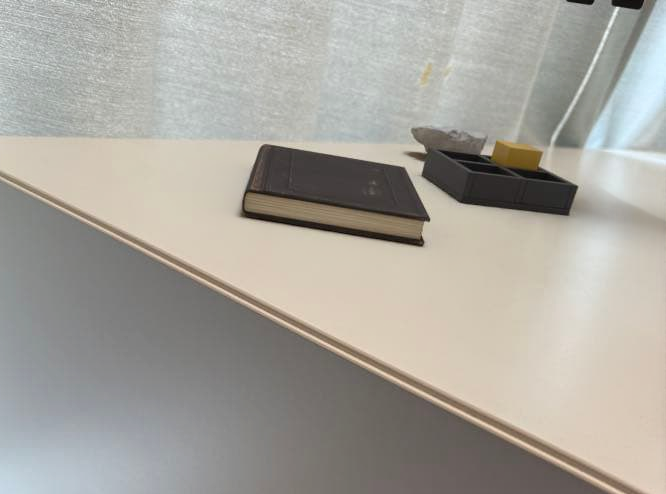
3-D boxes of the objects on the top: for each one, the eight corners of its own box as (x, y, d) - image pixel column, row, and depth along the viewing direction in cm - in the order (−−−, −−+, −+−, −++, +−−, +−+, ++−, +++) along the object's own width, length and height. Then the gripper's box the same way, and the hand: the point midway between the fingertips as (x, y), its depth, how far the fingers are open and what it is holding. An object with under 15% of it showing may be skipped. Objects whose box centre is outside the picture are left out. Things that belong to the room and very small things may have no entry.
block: (516, 181, 97) (527, 144, 94) (531, 190, 93) (543, 151, 91) (485, 177, 96) (496, 140, 93) (499, 186, 92) (510, 147, 90)
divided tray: (519, 187, 98) (527, 160, 97) (568, 215, 88) (578, 186, 86) (421, 174, 96) (427, 147, 94) (460, 202, 85) (469, 172, 83)
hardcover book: (400, 189, 86) (405, 167, 85) (423, 245, 68) (430, 218, 66) (256, 165, 86) (259, 142, 84) (240, 215, 67) (243, 187, 66)
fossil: (402, 125, 108) (471, 102, 108) (409, 175, 111) (476, 153, 111) (423, 130, 101) (497, 106, 100) (430, 183, 104) (502, 160, 104)
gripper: (766, -227, 66) (680, 15, 76) (653, -195, 80) (592, 6, 90) (689, -245, 65) (611, 4, 75) (587, -209, 78) (533, -3, 88)
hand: (601, 5), depth 82 cm, fingers open, 9 cm apart
